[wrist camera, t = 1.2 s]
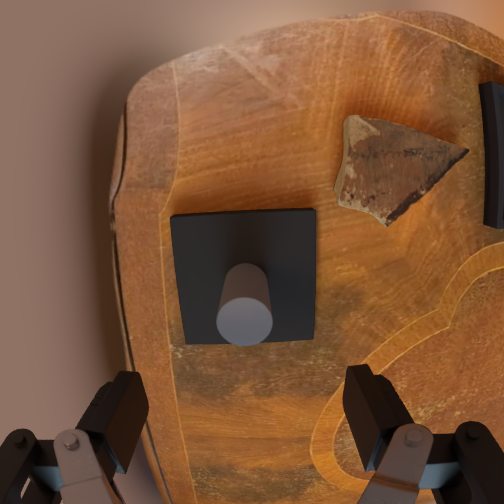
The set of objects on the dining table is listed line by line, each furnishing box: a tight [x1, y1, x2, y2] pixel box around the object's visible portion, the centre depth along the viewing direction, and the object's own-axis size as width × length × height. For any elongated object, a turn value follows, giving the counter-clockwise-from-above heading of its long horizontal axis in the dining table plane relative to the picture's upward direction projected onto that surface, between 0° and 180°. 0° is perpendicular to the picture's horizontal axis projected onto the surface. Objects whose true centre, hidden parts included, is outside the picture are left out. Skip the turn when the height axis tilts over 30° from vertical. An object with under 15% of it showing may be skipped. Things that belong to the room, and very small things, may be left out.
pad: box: [170, 208, 316, 346], centre depth 20 cm, size 10×10×7 cm
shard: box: [334, 115, 469, 227], centre depth 20 cm, size 11×8×2 cm
